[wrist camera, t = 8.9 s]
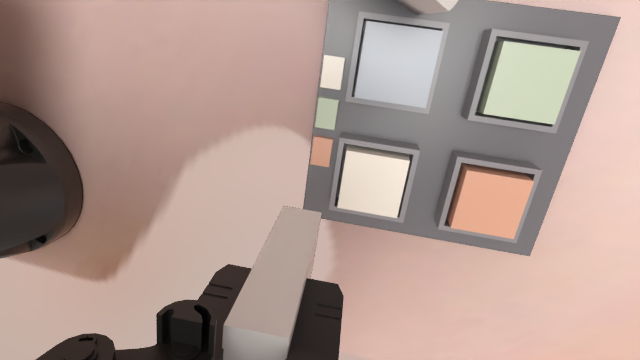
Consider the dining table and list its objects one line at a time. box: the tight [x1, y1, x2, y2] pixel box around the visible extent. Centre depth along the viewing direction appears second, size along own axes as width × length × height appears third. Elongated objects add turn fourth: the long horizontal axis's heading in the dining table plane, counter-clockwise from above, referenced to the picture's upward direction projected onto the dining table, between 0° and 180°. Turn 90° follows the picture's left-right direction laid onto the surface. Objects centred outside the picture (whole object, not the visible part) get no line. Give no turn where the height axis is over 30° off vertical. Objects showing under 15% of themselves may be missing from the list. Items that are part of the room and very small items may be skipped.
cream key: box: [337, 144, 410, 218], centre depth 30 cm, size 5×5×2 cm
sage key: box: [476, 41, 581, 125], centre depth 26 cm, size 5×5×2 cm
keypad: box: [303, 0, 621, 256], centre depth 29 cm, size 20×19×3 cm
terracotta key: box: [446, 163, 534, 239], centre depth 29 cm, size 5×5×2 cm
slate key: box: [354, 21, 443, 108], centre depth 25 cm, size 5×5×2 cm
